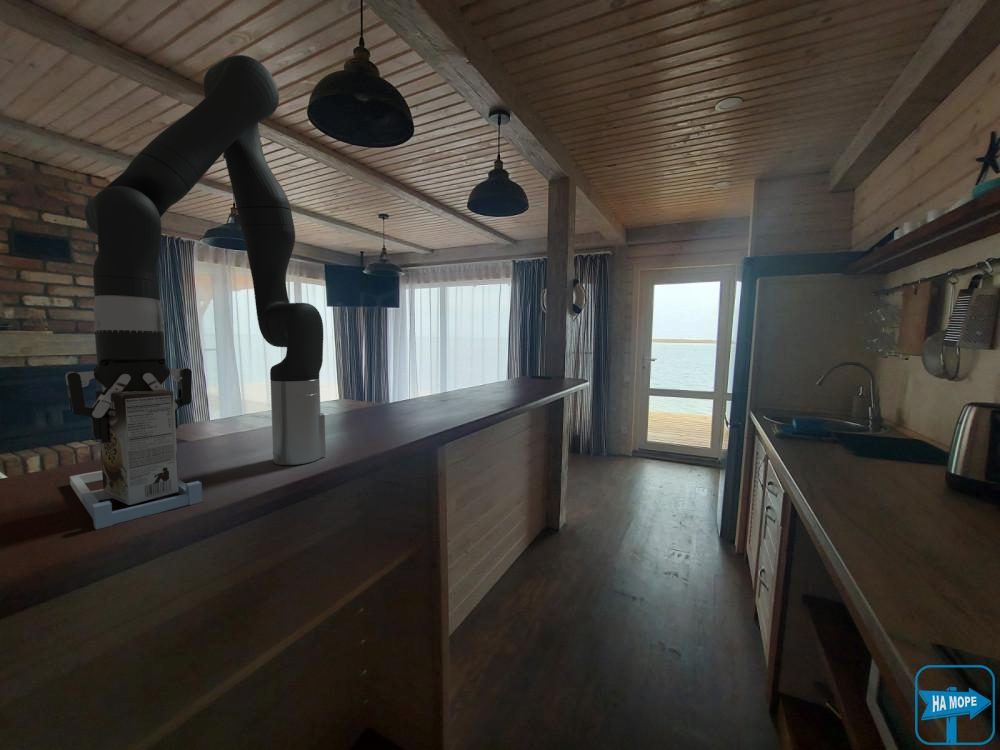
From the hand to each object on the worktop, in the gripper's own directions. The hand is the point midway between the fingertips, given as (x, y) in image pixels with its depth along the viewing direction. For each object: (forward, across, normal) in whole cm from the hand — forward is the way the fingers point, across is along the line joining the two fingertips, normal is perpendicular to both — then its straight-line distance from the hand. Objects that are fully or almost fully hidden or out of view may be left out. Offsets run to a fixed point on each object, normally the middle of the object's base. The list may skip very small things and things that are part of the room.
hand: (137, 437), depth 59 cm
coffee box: (+9, 0, 0) cm, 9 cm away
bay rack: (+10, 0, -6) cm, 12 cm away
